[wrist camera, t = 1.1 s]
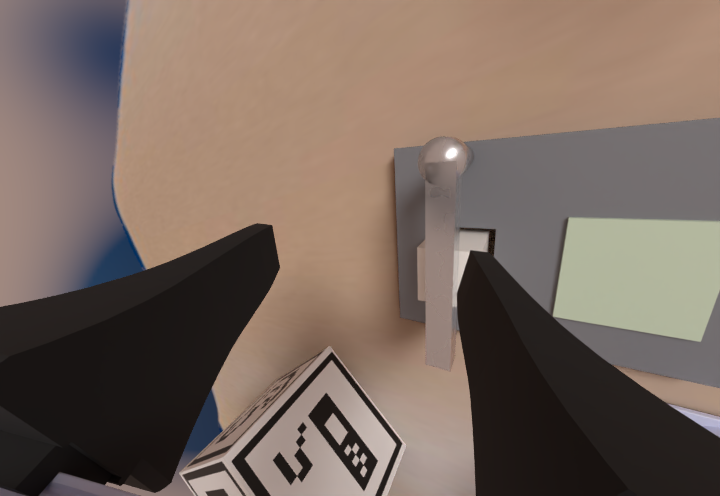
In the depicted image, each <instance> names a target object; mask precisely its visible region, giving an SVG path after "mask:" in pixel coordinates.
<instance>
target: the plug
mask: <svg viewBox="0 0 720 496" xmlns="http://www.w3.org/2000/svg"><path fill="white" fill-rule="evenodd" d="M489 235H490V230H479V229H460V238H459V265H458V288H459V285H460V282H461V278H462V275H463V272H464V269H465V266H466V263H467V260H468V256H469V253H470V250H474V251H482V252H488V248H489ZM417 273H418V300H420V301H426V288H425V240H424V241H423V242H422V243H421V244H420V245H419V246H418V247H417ZM456 327H457V318H456Z"/></svg>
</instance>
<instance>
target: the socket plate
mask: <svg viewBox="0 0 720 496" xmlns="http://www.w3.org/2000/svg"><path fill="white" fill-rule="evenodd" d="M464 143H465V145H466V146H467V147H468V149H469V152H470V164H469V167H468V169H467V171H466V172H465V173H464V175H463V176H462V184H461V211H460V227H461V228H482V229H496V236H495V249H494V258H495V259H496V260H497V261H498V262H499V263H500V264H501V265H502V266H503V267H504V268H505V269H506V271H507V272H508V273H509V274H510V275H511V276H512V277H513V278H514V279H515V280H516V281H517V282H518V283H519V284H520V285H521V287H522V288H523V289H524V290H525V291H526V292H527V293H528V294H529V295H530V296H531V297H532V298H533V299H534V300H535V301H536V302H537V303H538V304H539V305H540V306H542V307H543V308H544V309H545V310H546V311H547V312H548V313H549V314H550V315H551V316H552V317H553V318H555V319H556V320H557V321H558V322H559V323H560V324H561V325H562V326H563V327H565V328H566V329H567V330H568V331H569V332H570V333H572V334H573V335H574V336H575V337H577V338H578V339H579V340H580V341H582V342H583V343H584V344H585V345H586V346H588V347H589V348H590V349H591V350H593V351H594V352H595V353H596V354H598V355H599V356H600V357H602V358H603V359H604V360H606V361H607V362H608V363H610V364H613V365H617V366H622V367H626V368H631V369H635V370H640V371H644V372H649V373H654V374H658V375H663V376H667V377H672V378H676V379H681V380H685V381H690V382H694V383H699V384H703V385H708V386H712V387H717V388H720V118H713V119H702V120H692V121H681V122H671V123H660V124H649V125H639V126H628V127H618V128H607V129H597V130H586V131H575V132H565V133H554V134H544V135H533V136H523V137H512V138H502V139H491V140H480V141H470V142H464ZM423 147H424V146H417V147H406V148H396V149H394V161H395V189H396V217H397V244H398V272H399V299H400V318H405V319H409V320H414V321H418V322H423V323H426V301H420V300H418V273H417V247H418V246H419V245H420V244H421V243H422V242H423V241H424V240H425V180H424V179H423V177H422V176H421V174H420V172H419V169H418V157H419V154H420V151H421V150H422V148H423ZM456 330H459V325H458V316H457V327H456Z"/></svg>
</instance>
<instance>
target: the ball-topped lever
mask: <svg viewBox="0 0 720 496" xmlns="http://www.w3.org/2000/svg"><path fill="white" fill-rule="evenodd" d="M469 164H470V152H469V149H468V147H467V146H466V145H465V143H464V142H462V141H461V140H459V139H457V138H452V137H437V138H434V139H432V140H430V141H429V142H428V143H426V144H425V145H424V147H423V148H422V150H421V151H420V154H419V157H418V169H419V172H420V174H421V176H422V177H423V179H424V180H425V288H426V365H430V366H433V367H437V368H440V369H443V370H447V371H451V367H452V364H453V361H454V358H455V345H456V318H457V291H458V265H459V238H460V211H461V184H462V176H463V175H464V173H465V172H466V171H467V169H468V167H469Z"/></svg>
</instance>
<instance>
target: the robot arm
mask: <svg viewBox="0 0 720 496" xmlns="http://www.w3.org/2000/svg"><path fill="white" fill-rule="evenodd" d="M279 269H280V265H279V260H278V254H277V249H276V244H275V238H274V233H273V227H272V225H266V224H258V223H257V224H254V225H251V226H249V227H246V228H244V229H242V230H239V231H237V232H235V233H233V234H231V235H228V236H226V237H224V238H222V239H220V240H218V241H215V242H213V243H211V244H209V245H207V246H205V247H202V248H200V249H198V250H195V251H193V252H191V253H188V254H186V255H184V256H181V257H179V258H177V259H174V260H172V261H169V262H167V263H164V264H161V265H159V266H156V267H153V268H150V269H147V270H145V271H142V272H139V273H136V274H133V275H130V276H126V277H123V278H120V279H116V280H113V281H109V282H106V283H102V284H99V285H95V286H92V287H89V288H85V289H81V290H77V291H73V292H69V293H64V294H61V295H56V296H51V297H47V298H43V299H38V300H34V301H29V302H24V303H19V304H14V305H8V306H3V307H0V496H140V495H136V494H133V493H130V492H126V491H123V490H119V489H116V488H113V487H109V486H106V485H105V484H106V483H107V482H109V483H113V484H116V485H119V486H121V485H122V484H126V485H130V486H133V487H137V488H140V489H143V490H147V491H150V492H154V493H156V492H158V491H160V490H162V489H163V488H165V487H166V486H167V485H169V484H170V483H171V482H172V479H173V476H174V474H175V471H176V468H177V466H178V464H179V461H180V459H181V456H182V454H183V451H184V449H185V446H186V444H187V441H188V439H189V436H190V434H191V432H192V430H193V427H194V425H195V423H196V421H197V418H198V416H199V414H200V412H201V409H202V407H203V405H204V403H205V400H206V398H207V396H208V394H209V392H210V390H211V388H212V386H213V384H214V382H215V380H216V378H217V376H218V374H219V372H220V370H221V368H222V366H223V364H224V362H225V360H226V358H227V356H228V355H229V353H230V351H231V349H232V347H233V345H234V344H235V342H236V340H237V339H238V337H239V336H240V334H241V333H242V331H243V330H244V328H245V327H246V325H247V324H248V322H249V321H250V319H251V318H252V316H253V314H254V313H255V311H256V310H257V308H258V307H259V305H260V304H261V302H262V301H263V299H264V298H265V296H266V295H267V293H268V291H269V290H270V288H271V286H272V284H273V282H274V280H275V278H276V275H277V273H278V271H279ZM457 316H458V325H459V331H460V336H461V342H462V348H463V353H464V359H465V365H466V370H467V376H468V382H469V389H470V398H471V411H472V425H473V442H474V459H475V484H476V496H720V417H718V416H715V415H711V414H707V413H703V412H699V411H695V410H691V409H687V408H683V407H679V406H675V405H671V404H667V403H665V402H664V401H662V400H661V399H659V398H658V397H656V396H655V395H653V394H652V393H651V392H649V391H648V390H646V389H645V388H643V387H642V386H640V385H639V384H638V383H636V382H635V381H633V380H632V379H631V378H629V377H628V376H626V375H625V374H624V373H622V372H621V371H619V370H618V369H617V368H615V367H614V366H612V365H611V364H610V363H608V362H607V361H606V360H604V359H603V358H602V357H600V356H599V355H598V354H596V353H595V352H594V351H593V350H591V349H590V348H589V347H588V346H586V345H585V344H584V343H583V342H582V341H580V340H579V339H578V338H577V337H575V336H574V335H573V334H572V333H570V332H569V331H568V330H567V329H566V328H565V327H563V326H562V325H561V324H560V323H559V322H558V321H557V320H556V319H555V318H553V317H552V316H551V315H550V314H549V313H548V312H547V311H546V310H545V309H544V308H543V307H542V306H540V305H539V304H538V303H537V302H536V301H535V300H534V299H533V298H532V297H531V296H530V295H529V294H528V293H527V292H526V291H525V290H524V289H523V288H522V287H521V285H520V284H519V283H518V282H517V281H516V280H515V279H514V278H513V277H512V276H511V275H510V274H509V273H508V272H507V271H506V269H505V268H504V267H503V266H502V265H501V264H500V263H499V262H498V261H497V260H496V259H495V258H494V257H493V256H492V255H491V254H490V253H489V252H482V251H474V250H470V253H469V256H468V260H467V263H466V266H465V269H464V272H463V275H462V278H461V282H460V285H459V288H458V291H457Z"/></svg>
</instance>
